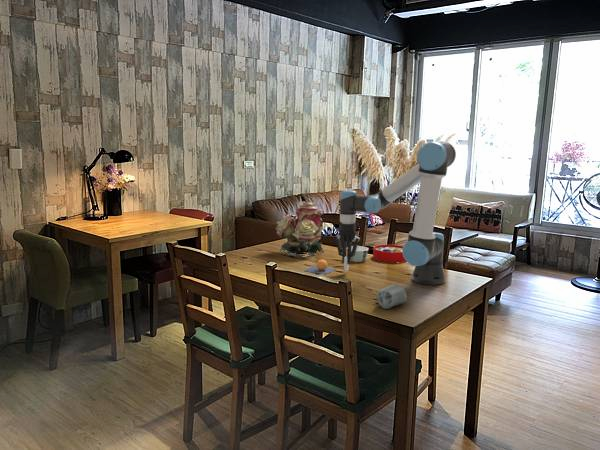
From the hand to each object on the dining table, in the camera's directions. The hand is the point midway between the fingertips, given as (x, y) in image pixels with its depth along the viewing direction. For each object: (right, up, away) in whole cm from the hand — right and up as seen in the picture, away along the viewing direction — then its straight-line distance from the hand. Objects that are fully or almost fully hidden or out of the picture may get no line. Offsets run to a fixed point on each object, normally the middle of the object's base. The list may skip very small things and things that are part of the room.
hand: (346, 270), depth 248 cm
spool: (+14, -10, -46) cm, 49 cm away
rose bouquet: (-21, +6, +44) cm, 49 cm away
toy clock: (+28, +3, +34) cm, 44 cm away
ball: (-12, +2, +6) cm, 13 cm away
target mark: (-12, -1, +7) cm, 14 cm away
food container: (+9, +3, +29) cm, 31 cm away
